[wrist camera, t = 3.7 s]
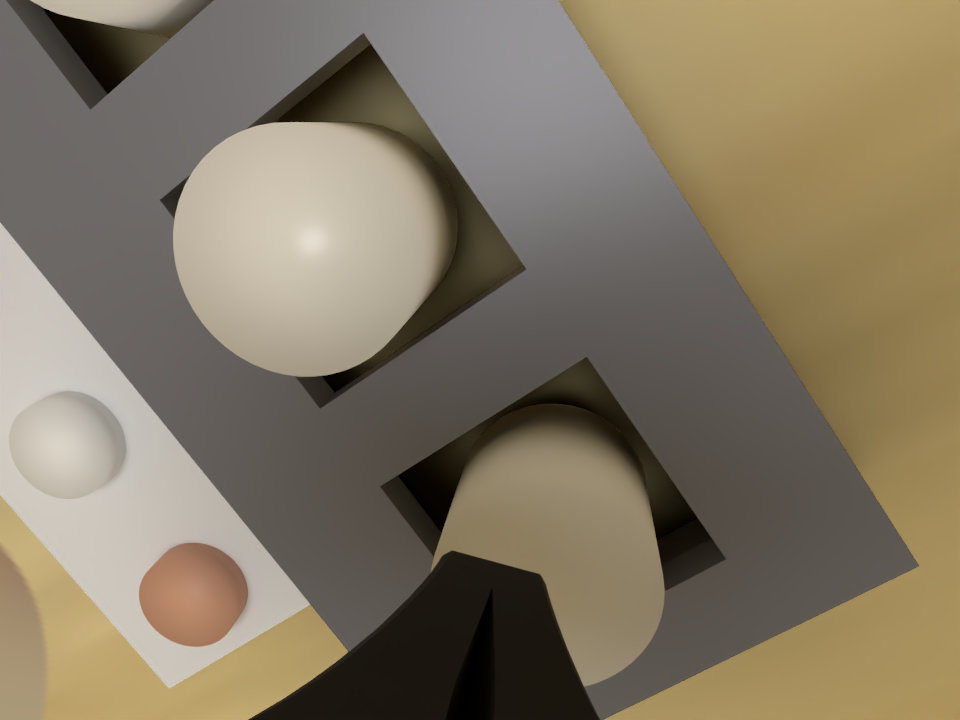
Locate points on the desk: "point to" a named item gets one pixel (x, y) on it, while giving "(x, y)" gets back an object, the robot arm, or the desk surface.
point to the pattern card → (122, 491)
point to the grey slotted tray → (460, 336)
